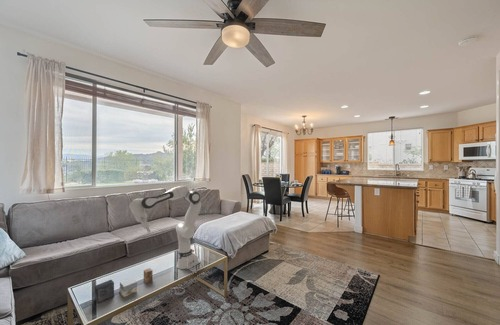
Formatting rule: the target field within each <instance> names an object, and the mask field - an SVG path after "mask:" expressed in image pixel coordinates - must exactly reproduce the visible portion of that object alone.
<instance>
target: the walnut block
mask: <svg viewBox="0 0 500 325" xmlns="http://www.w3.org/2000/svg"><path fill="white" fill-rule="evenodd" d="M143 282H144V283H145V284H149V283H150V282H153V269H152V268H150V267H149V268H147V269H144V270H143Z"/></svg>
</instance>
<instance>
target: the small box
mask: <svg viewBox="0 0 500 325" xmlns="http://www.w3.org/2000/svg"><path fill="white" fill-rule="evenodd" d="M113 297H115V282H114V281H113V279H109V280H106V281H104V282H101V283H99V284H96V285H95V286H94V300H95V303H96V304H100V303H102V302H104V301H107V300H109V299H111V298H113Z"/></svg>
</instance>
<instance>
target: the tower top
mask: <svg viewBox="0 0 500 325" xmlns="http://www.w3.org/2000/svg"><path fill="white" fill-rule="evenodd" d="M135 287H137V288H138V281H137V279H136V278H134V276H132V277H129V278H126V279H124V280H121V281H119V289H120V288H121V289H122V290H123V292H126V291H128V290H131V289H133V288H135Z"/></svg>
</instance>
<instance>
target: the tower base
mask: <svg viewBox="0 0 500 325" xmlns="http://www.w3.org/2000/svg"><path fill="white" fill-rule="evenodd" d="M136 291H137V292H138V286H137V287H135V288H133V289H131V290H128V291H126V292H123V290H122V289H121V288H120V287H119V293H120V294H121V296H122V297H123V298H125V297H128V296H130V295H132V294H135V293H136Z"/></svg>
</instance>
